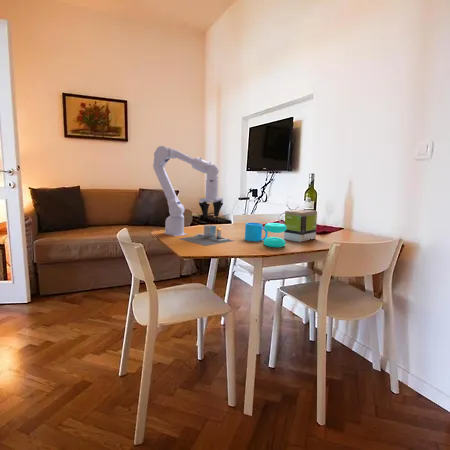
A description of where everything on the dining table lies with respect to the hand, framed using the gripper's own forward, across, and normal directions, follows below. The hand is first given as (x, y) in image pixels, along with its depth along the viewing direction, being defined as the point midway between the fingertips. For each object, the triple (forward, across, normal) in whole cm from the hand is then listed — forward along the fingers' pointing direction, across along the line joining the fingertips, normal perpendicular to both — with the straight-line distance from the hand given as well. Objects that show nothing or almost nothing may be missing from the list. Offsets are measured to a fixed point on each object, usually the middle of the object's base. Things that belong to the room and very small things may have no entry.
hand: (210, 216), depth 170 cm
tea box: (+10, +34, -31) cm, 47 cm away
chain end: (+10, -4, -4) cm, 11 cm away
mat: (+10, -8, -6) cm, 15 cm away
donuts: (+10, +9, -33) cm, 36 cm away
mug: (+10, +11, -21) cm, 26 cm away
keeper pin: (+10, -4, -10) cm, 14 cm away
